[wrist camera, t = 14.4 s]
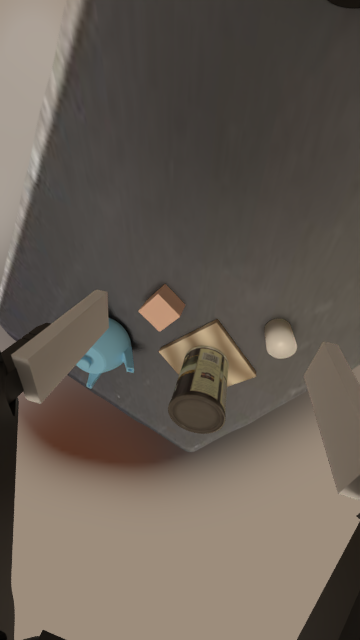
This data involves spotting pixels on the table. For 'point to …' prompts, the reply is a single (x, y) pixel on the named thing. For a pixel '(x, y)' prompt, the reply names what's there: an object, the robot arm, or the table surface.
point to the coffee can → (201, 391)
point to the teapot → (108, 353)
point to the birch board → (215, 338)
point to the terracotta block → (162, 308)
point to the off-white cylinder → (280, 338)
